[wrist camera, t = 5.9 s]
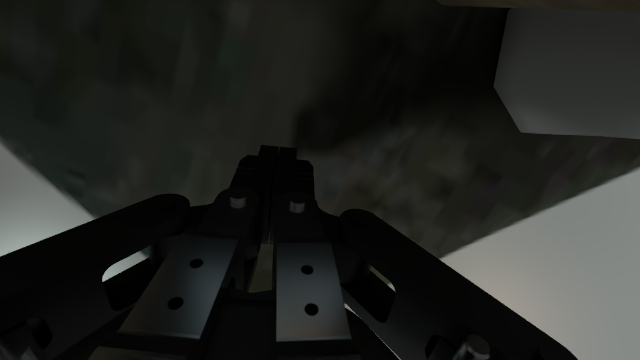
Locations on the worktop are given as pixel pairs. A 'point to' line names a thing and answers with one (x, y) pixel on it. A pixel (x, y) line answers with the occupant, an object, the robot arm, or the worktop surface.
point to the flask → (571, 72)
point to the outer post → (552, 4)
